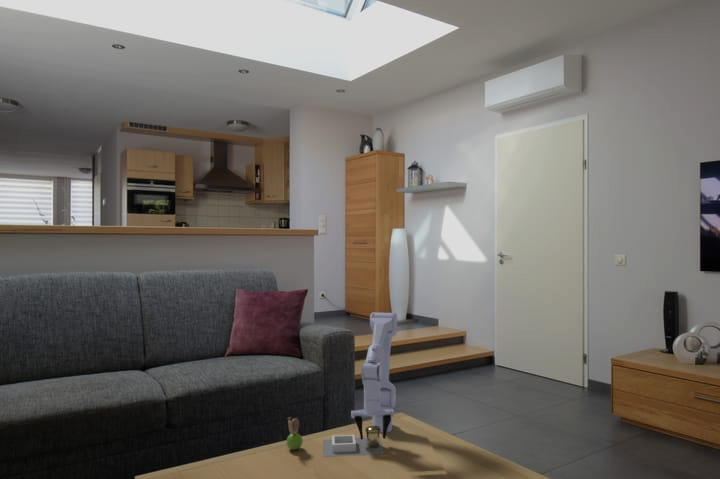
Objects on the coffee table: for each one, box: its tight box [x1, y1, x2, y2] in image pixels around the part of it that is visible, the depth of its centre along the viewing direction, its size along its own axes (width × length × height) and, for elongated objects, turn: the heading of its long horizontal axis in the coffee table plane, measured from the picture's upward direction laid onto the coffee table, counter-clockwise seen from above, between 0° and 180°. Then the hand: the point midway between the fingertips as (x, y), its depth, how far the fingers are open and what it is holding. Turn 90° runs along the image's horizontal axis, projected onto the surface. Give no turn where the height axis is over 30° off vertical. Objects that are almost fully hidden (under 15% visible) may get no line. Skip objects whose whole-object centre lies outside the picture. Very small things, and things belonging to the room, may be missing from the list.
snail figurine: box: [286, 417, 304, 451], centre depth 170 cm, size 5×6×12 cm
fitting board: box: [322, 434, 385, 458], centre depth 169 cm, size 14×20×4 cm
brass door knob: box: [365, 424, 380, 448], centre depth 170 cm, size 5×5×6 cm
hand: (372, 437), depth 170 cm, fingers open, 7 cm apart
